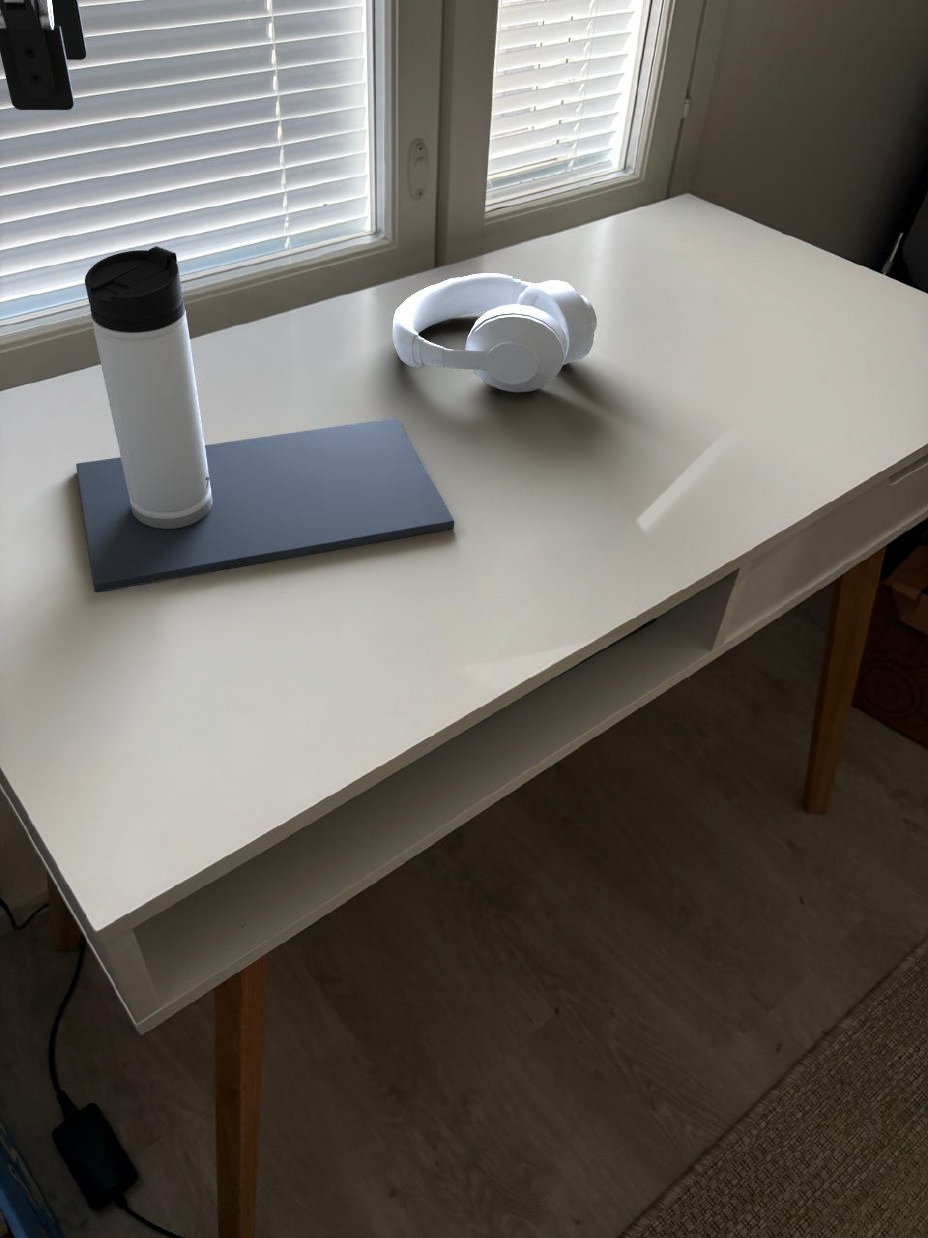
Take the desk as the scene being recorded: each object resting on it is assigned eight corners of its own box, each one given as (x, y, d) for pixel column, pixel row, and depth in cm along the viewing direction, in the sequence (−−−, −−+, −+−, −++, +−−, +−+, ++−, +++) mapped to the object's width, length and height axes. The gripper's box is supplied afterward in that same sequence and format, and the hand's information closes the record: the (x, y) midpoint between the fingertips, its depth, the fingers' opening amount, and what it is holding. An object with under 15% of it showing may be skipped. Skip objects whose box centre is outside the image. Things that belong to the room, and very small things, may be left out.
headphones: (624, 348, 104) (466, 314, 114) (627, 273, 99) (462, 244, 109) (528, 422, 93) (361, 377, 103) (526, 341, 88) (352, 302, 98)
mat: (95, 592, 74) (92, 584, 74) (77, 471, 85) (75, 463, 84) (454, 528, 82) (454, 520, 81) (396, 424, 93) (396, 417, 92)
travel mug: (232, 499, 82) (202, 260, 68) (173, 540, 78) (128, 294, 64) (175, 472, 84) (135, 235, 70) (115, 511, 80) (60, 267, 66)
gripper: (-79, -327, 53) (3, 41, 64) (-160, -322, 40) (-40, 131, 52) (72, -316, 54) (126, 42, 66) (38, -308, 42) (112, 130, 53)
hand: (53, 81), depth 59 cm, fingers open, 9 cm apart
